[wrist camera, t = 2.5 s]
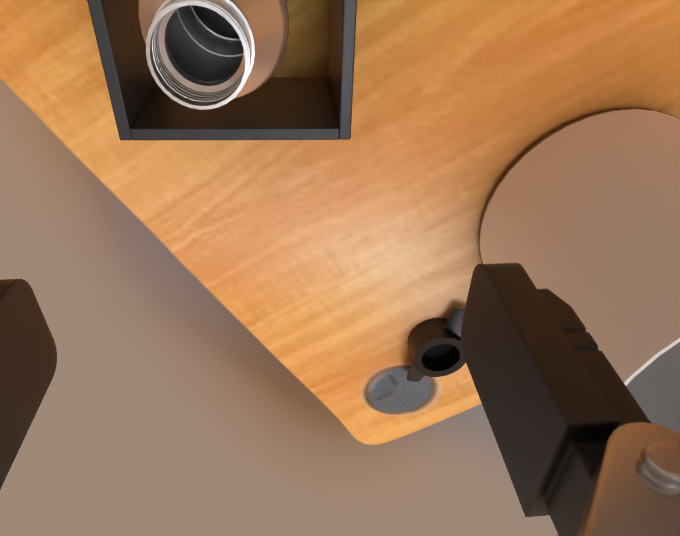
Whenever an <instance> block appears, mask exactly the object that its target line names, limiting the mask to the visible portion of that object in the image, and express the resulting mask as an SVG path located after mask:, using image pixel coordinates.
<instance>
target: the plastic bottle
mask: <svg viewBox="0 0 680 536" xmlns="http://www.w3.org/2000/svg"><path fill="white" fill-rule="evenodd" d="M286 1H287V0H139V21H140V26H141V32H142V35H143V38H144V41H145V44H146V57H147V62H148V66H149V69H150V71H151V74H152V76H153V78H154V79H155V81H156V83H157V84H158V86H159V87H160V88H161V89H162V90H163V92H164V93H165V94H167V95H168V96H169V97H170V98H171V99H173V100H174V101H176V102H178V103H179V104H181V105H184V106H186V107H189V108H193V109H199V110H207V109H214V108H218V107H220V106H223V105H225V104H227V103H228V102H229V101H231V100H232V99H234V98H237V97H241V96H244V95H246V94H248V93H250V92H253V91H255V90H256V89H257V88H259V87H260V86H261V85H263V84H264V83H265V82H266V81H267V80H268V79H269V78H270V77H271V76H272V75H273V73H274V72H275V70H276V69H277V67H278V65H279V64H280V62H281V60H282V57H283V54H284V52H285V49H286V45H287V39H288V33H289V18H288V11H287V5H286Z"/></svg>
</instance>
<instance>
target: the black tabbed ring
mask: <svg viewBox="0 0 680 536" xmlns="http://www.w3.org/2000/svg"><path fill="white" fill-rule="evenodd" d="M464 311H465V310H463V309H460V308H457V307H455V308H454V310H453V312H452V314H451V315H450V317H449V318H448V319H443V318H436V319H430V320H427V321H424V322H422V323H420V324H419V325H417V326H416V327H415V328H414V329H413V330H412V331H411V333H410V335H409V337H408V345H409V349H410V353H411V357H412V361H413V365H411V367H410V368H409V371H408V375H407V380H408V381H420V380H421V379H422V377H423V376H424V375H426V376H430V377H440V376H445V375H449V374H451V373H453V372H455V371H457V370H458V369H460V368H461V367H462V366H463V365H464V364H465V362H466V361H465V358H464V355H463V351H462V345H461V325H462V320H463V316H464Z"/></svg>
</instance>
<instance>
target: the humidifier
mask: <svg viewBox="0 0 680 536" xmlns="http://www.w3.org/2000/svg"><path fill="white" fill-rule="evenodd" d="M479 245H480V256H481V259H482V262H483V264H497V263H519V264H521V265H522V266H523V268H524V269H525V271H526V272H527V274H528V276H529V277H530V279H531V280H532V282H533V283H534V285H535V287H536V288H537V289H549V290H550V291H552V292H553V293H554V294H556V295H557V296H558V297H559V298H561V299H562V300H563V301H565V302H566V303H567V304H569V305H570V306H571V307H572V308H573V310H574V311H575V313H576V314H577V316H578V317H579V318H580V320H581V321H582V323H583V324H584V326H585V327H586V332H589V333H590V335H591V336H592V337H593V339H594V340H595V342H596V343H597V345H598V350H599V351H602V352H603V353H604V355H605V356H606V358H607V359H608V361H609V362H610V364H611V365H612V367H613V368H614V369H615V371H616V372H617V374H618V375H619V377H620V378H621V380H622V381H623V383H624V384H625V385H626V387H627V388H628V390H629V391H630V393H631V394H632V396H633V397H634V399H635V400H636V402H637V403H638V404H639V406H640V407H641V409H642V410H643V412H644V413H645V415H646V416H647V418H648V419H649V420H650V422H651V423H652V424H656V425H660V426H663V427H666V428H668V429H671V430H673V431H675V432H677V433H679V434H680V120H679V119H677V118H676V117H674V116H670V115H667V114H664V113H661V112H658V111H655V110H645V109H635V108H630V109H618V110H609V111H605V112H601V113H597V114H593V115H589V116H586V117H584V118H581V119H579V120H576V121H574V122H571V123H569V124H566V125H564V126H563V127H561V128H559V129H557V130H556V131H554V132H552V133H551V134H549V135H547V136H545V137H544V138H543V139H541V140H540V141H539V142H537V143H536V144H535V145H533V146H532V147H531V148H530V149H528V150H527V151H526V152H525V153H524V154H523V155H522V156H521V157H520V158H519V159H518V160H517V161H516V162H515V163H514V164H513V165H512V166H511V167H510V168H509V169H508V171H507V172H506V173H505V175H504V176H503V177H502V179H501V180H500V181H499V183H498V184H497V186H496V187H495V189H494V191H493V193H492V195H491V197H490V199H489V201H488V203H487V205H486V208H485V211H484V214H483V217H482V220H481V227H480V234H479Z"/></svg>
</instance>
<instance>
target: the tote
mask: <svg viewBox="0 0 680 536" xmlns="http://www.w3.org/2000/svg"><path fill="white" fill-rule="evenodd" d="M87 1H88V5H89V10H90V14H91V18H92V22H93V27H94V31H95V35H96V39H97V44H98V48H99V52H100V56H101V61H102V65H103V69H104V73H105V78H106V82H107V86H108V90H109V95H110V99H111V103H112V108H113V112H114V116H115V120H116V125H117V129H118V133H119V137H120V140H338V139H350V138H351V118H352V96H353V74H354V52H355V30H356V8H357V0H330V12H329V70H328V78H269V79H268V80H267V81H266V82H265V83H264V84H263V85H261V86H260V87H259V88H257V89H256V90H255V91H253V92H250V93H248V94H246V95H244V96H241V97H237V98H234V99H232V100H231V101H229V102H228V103H227V104H225V105H223V106H220V107H218V108H214V109H207V110H199V109H193V108H189V107H186V106H184V105H181V104H179V103H178V102H176V101H174V100H173V99H171V98H170V97H169V96H168V95H167V94H165V93H164V92H163V90H162V89H161V88H160V87H159V86H158V84H157V83H156V81H155V79H154V78H153V76H152V74H151V71H150V69H149V66H148V62H147V57H146V44H145V41H144V38H143V35H142V32H141V26H140V21H139V0H87Z"/></svg>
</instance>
